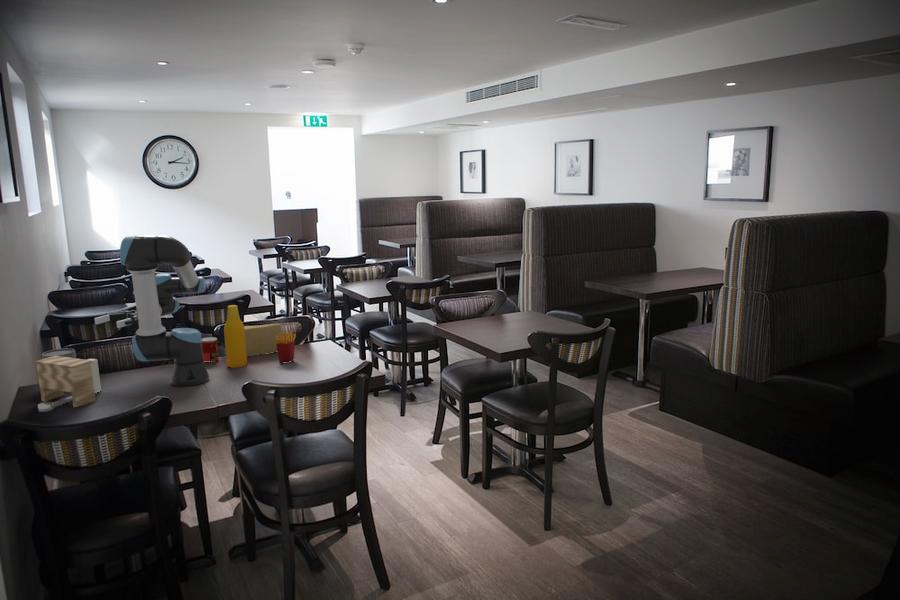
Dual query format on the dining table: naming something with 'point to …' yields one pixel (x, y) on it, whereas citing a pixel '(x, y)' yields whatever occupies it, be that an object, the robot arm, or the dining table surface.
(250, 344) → the cheese
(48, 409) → the steel token
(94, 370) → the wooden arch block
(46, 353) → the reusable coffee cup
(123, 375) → the dining table surface
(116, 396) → the dining table surface
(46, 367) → the wooden bridge
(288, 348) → the french fries
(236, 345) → the beer bottle
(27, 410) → the dining table surface
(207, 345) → the red drink glass
